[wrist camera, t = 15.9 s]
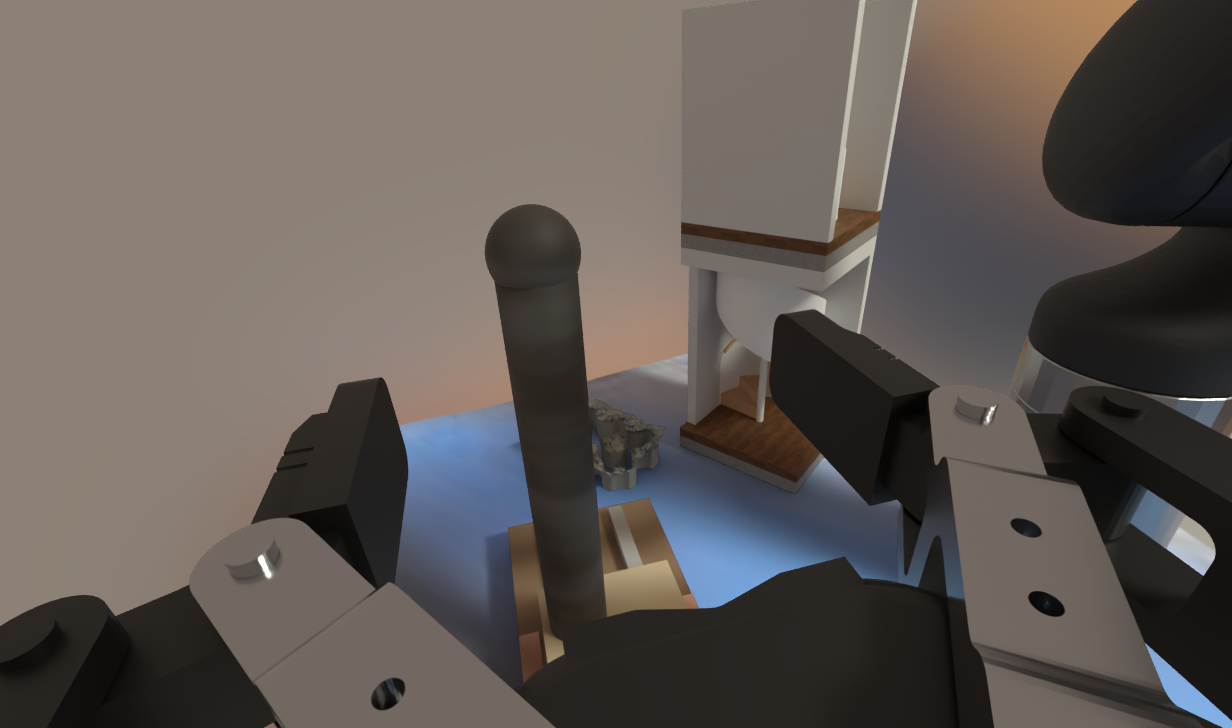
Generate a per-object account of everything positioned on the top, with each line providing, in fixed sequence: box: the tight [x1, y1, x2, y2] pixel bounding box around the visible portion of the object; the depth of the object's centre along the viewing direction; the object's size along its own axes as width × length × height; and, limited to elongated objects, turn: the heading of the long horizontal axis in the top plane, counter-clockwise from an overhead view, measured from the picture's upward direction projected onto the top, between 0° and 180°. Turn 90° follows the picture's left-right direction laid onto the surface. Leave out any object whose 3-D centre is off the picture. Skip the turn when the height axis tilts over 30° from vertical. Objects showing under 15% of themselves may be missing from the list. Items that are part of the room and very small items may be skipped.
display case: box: [680, 0, 917, 494], centre depth 45 cm, size 11×11×35 cm
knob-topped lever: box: [485, 204, 688, 663], centre depth 26 cm, size 5×8×24 cm, turn 104°
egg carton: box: [589, 400, 665, 491], centre depth 51 cm, size 11×8×4 cm
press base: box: [508, 498, 699, 682], centre depth 34 cm, size 18×11×5 cm, turn 14°
